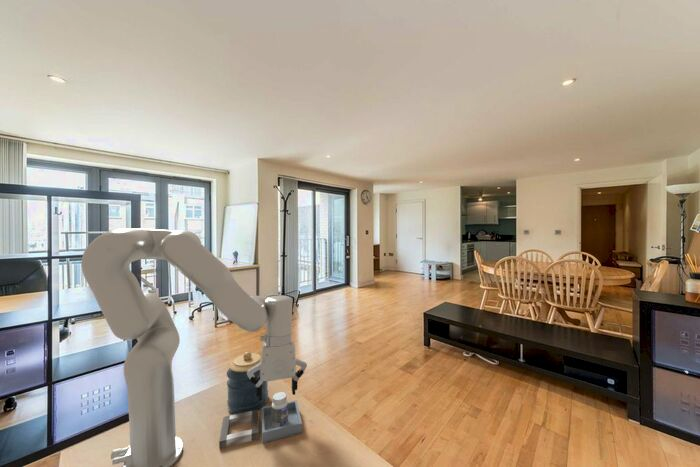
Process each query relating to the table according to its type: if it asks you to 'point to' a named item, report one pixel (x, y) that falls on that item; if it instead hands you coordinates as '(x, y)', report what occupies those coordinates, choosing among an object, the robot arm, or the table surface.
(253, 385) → the canister
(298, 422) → the tray
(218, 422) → the table surface
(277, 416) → the pill bottle
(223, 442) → the socket block
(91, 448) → the table surface
